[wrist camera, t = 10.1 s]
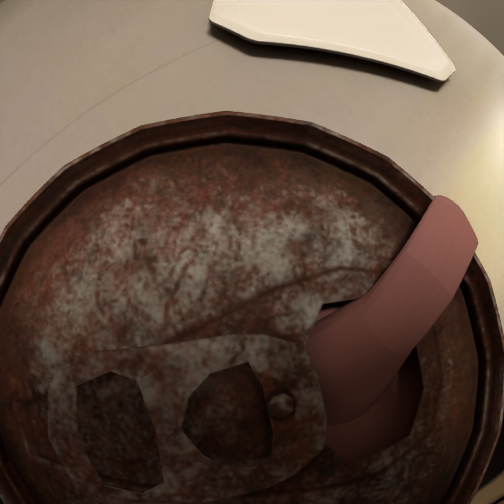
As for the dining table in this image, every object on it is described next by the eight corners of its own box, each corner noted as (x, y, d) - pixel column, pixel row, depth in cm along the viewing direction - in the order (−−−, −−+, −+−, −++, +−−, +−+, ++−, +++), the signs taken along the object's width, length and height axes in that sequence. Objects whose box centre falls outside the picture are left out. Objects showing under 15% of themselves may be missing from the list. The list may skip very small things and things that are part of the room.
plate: (224, -28, 33) (224, -39, 31) (389, -1, 35) (393, -10, 33) (203, 56, 23) (202, 37, 21) (463, 103, 25) (472, 91, 23)
